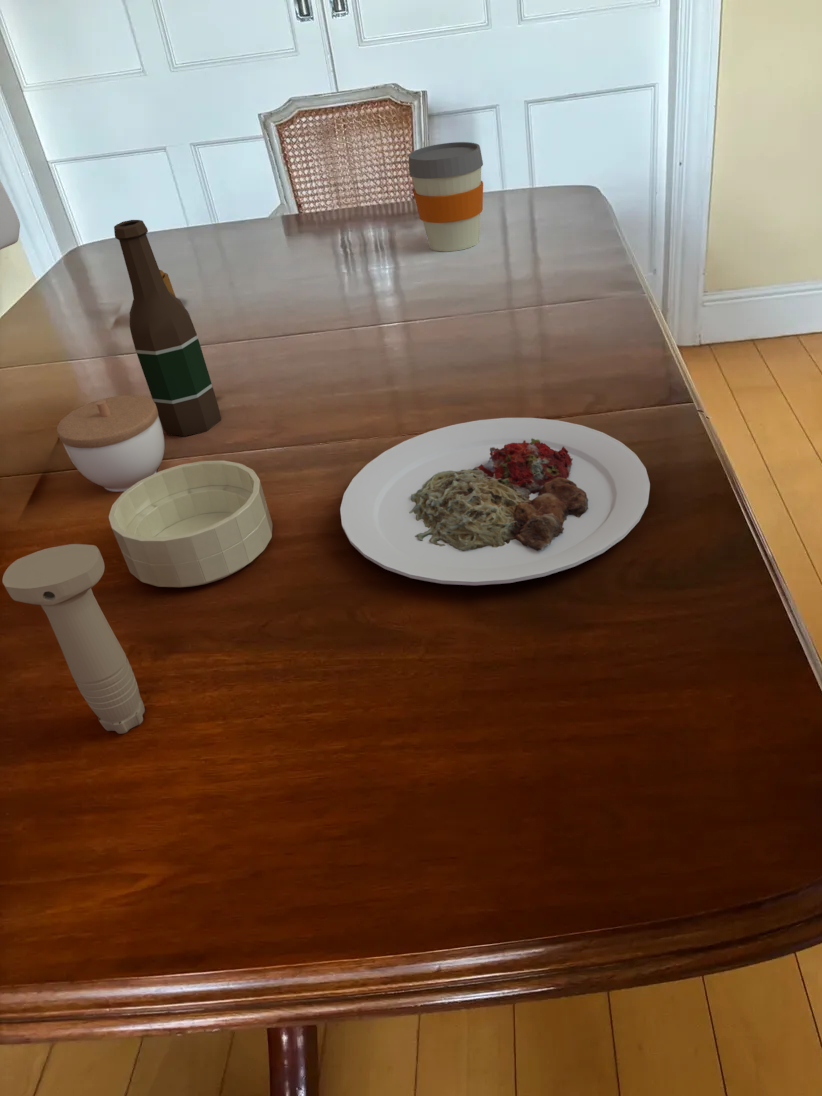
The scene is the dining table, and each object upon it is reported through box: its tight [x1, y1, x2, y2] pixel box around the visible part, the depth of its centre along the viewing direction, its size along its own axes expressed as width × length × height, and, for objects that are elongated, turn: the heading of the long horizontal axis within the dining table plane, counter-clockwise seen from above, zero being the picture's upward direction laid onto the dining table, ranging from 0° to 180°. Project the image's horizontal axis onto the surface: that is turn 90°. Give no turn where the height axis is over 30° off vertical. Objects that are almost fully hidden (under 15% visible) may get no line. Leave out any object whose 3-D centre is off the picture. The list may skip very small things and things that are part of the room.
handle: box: [2, 543, 146, 735], centre depth 65 cm, size 5×6×15 cm
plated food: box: [339, 417, 651, 586], centre depth 87 cm, size 30×30×3 cm
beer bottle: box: [113, 219, 222, 437], centre depth 105 cm, size 8×8×24 cm
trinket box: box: [56, 394, 166, 493], centre depth 99 cm, size 11×11×9 cm
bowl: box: [107, 460, 274, 588], centre depth 86 cm, size 14×14×6 cm
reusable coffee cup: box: [408, 141, 484, 252], centre depth 154 cm, size 13×13×15 cm
